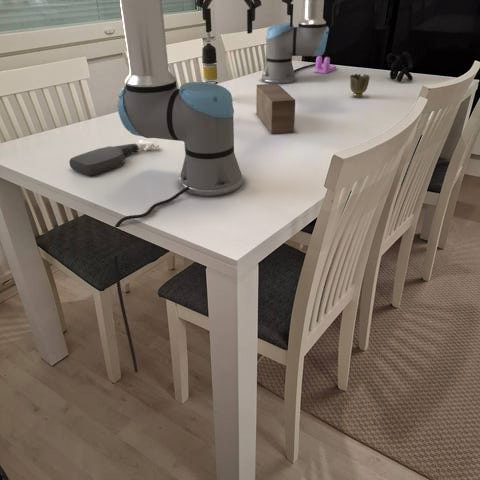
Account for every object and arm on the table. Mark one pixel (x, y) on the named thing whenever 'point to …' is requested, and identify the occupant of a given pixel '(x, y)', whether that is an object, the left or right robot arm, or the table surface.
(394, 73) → the squiggle
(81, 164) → the spray bottle
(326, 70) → the bracket
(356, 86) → the cup
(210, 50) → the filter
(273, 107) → the box
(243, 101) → the table surface
